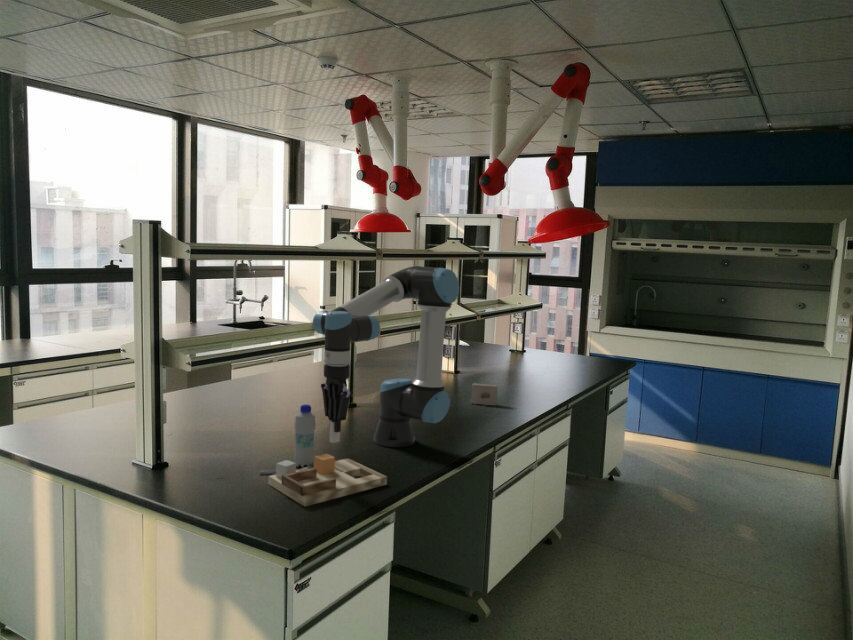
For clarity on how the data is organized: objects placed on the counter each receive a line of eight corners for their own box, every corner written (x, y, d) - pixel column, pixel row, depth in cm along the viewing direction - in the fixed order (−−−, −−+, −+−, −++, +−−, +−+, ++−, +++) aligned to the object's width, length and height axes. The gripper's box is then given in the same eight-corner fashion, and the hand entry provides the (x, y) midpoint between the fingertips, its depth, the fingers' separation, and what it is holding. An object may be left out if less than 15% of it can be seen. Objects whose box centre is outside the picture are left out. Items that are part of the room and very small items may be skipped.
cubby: (314, 476, 192) (314, 467, 191) (335, 487, 184) (336, 478, 183) (281, 483, 184) (281, 475, 184) (302, 495, 176) (302, 487, 176)
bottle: (315, 462, 211) (317, 402, 209) (312, 469, 204) (314, 407, 202) (294, 461, 211) (296, 401, 208) (291, 468, 204) (293, 406, 202)
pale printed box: (470, 404, 301) (472, 384, 300) (471, 402, 305) (472, 382, 303) (496, 406, 299) (498, 386, 298) (497, 404, 303) (498, 384, 302)
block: (285, 472, 193) (286, 459, 193) (295, 476, 191) (296, 462, 190) (276, 476, 190) (276, 463, 189) (285, 479, 188) (286, 466, 187)
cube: (326, 467, 199) (326, 453, 199) (334, 471, 196) (335, 457, 196) (313, 470, 196) (314, 456, 196) (322, 474, 193) (322, 460, 193)
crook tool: (293, 473, 201) (293, 469, 201) (293, 477, 197) (293, 474, 197) (260, 474, 199) (260, 470, 199) (259, 478, 195) (259, 474, 195)
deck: (347, 465, 209) (348, 457, 209) (386, 484, 195) (387, 475, 194) (268, 484, 190) (268, 475, 190) (304, 506, 176) (305, 497, 175)
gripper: (313, 361, 192) (311, 438, 195) (339, 369, 183) (336, 449, 186) (334, 359, 197) (332, 434, 200) (360, 366, 188) (357, 445, 191)
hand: (334, 441), depth 193 cm, fingers closed
